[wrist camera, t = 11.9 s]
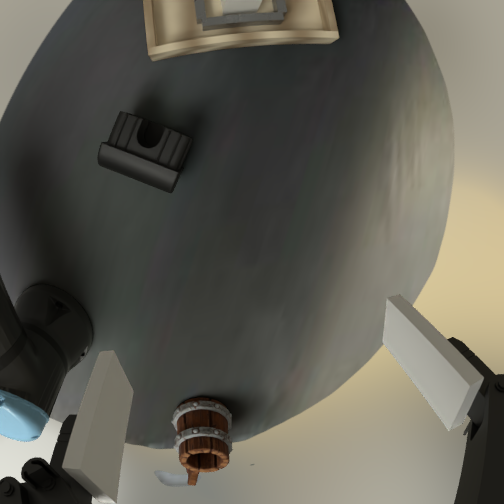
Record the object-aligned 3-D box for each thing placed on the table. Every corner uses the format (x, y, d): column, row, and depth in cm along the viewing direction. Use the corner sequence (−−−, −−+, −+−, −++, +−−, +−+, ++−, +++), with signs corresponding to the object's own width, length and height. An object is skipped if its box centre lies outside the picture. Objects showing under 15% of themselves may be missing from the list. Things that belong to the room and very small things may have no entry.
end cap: (108, 162, 38) (91, 167, 32) (128, 112, 36) (113, 109, 30) (175, 188, 41) (169, 198, 35) (196, 139, 39) (194, 140, 33)
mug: (243, 399, 56) (248, 469, 43) (218, 430, 62) (219, 490, 49) (183, 387, 53) (178, 460, 40) (166, 420, 59) (161, 481, 46)
